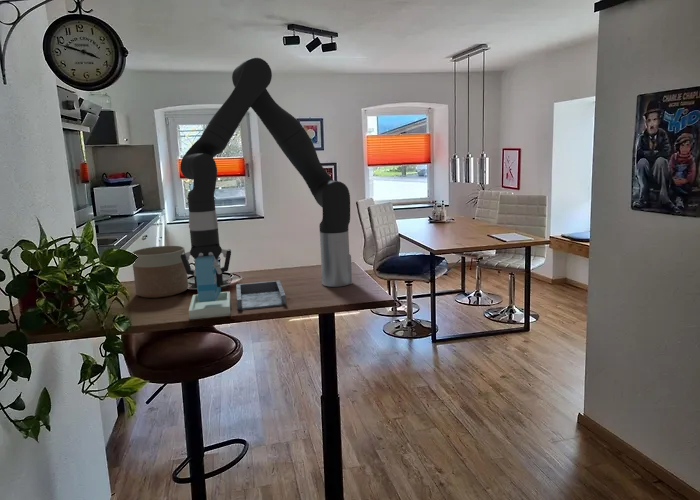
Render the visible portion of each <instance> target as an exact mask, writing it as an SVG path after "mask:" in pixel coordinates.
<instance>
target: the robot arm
mask: <svg viewBox="0 0 700 500" xmlns="http://www.w3.org/2000/svg"><path fill="white" fill-rule="evenodd" d="M272 77H273V75H272V68H271V66H270V65H269V63H268V62H267V61H266V60H264V59H263V58H260V57H251V58H248V59H246V60H245V61H242V62H241V63H240V64H238V66H237V67H235V69H234V70H233V72H232V75H231V80H232V84H233V86H234V88H233V90H232V92H231V93H230V95H229V96H228V98H227V99H226V100H225V101H224V103H223V104H222V105H221V106H220V107H219V109H218V110H217V111H216V113H215V114H214V115H213V116H212V118H211V119H210V120H209V122H208V124H207V126H206V127H205V128H204V130H203V132H202V134H201V136H199V138H198V139H197V140H196V141H195V142H194V143H193V144H192V146H191V147H190V148H189V149H188V150H187V151H186V152H185V154H184V155H183V156H182V159H181V161H180V165H179V169H180V172H181V174H182V176H183V177H185V178H186V179H187V180H191V181H192V180H193V185H192V189H191V190H189V191H188V193H187V204H188V205H187V207H188V228H189V235H190V236H189V237H190V245H191V247H190V250H189V251H186V252H185V253H182V254H181V259H182V262H183V265H184V267H185V270H186V272H187V276H188V275H189V276H193V278H194V287H195V288H197V281H196V270H195V269H192V267H191V264H190V262H189V261H190V258H191V257H192V258H193V259H194V261H195V260H196V258H197V257H203V256H214V260H215V268H216V271H217V281H218V287H221V288H222V286H223V284H224V280H223V278H224V277H223V274H224V273H226V272H228V271H229V267H230V262H231V256H232V250H231V249H230V248H228V249H224V248H222V247H221V245H220V236H219V235H220V233H219V223H218V216H217V211H216V201H215V191H216V186H217V179H218V178H217V177H218V167H217V163H216V160H215V158H214V157H216V156H217V155H219V154H222V153H223V152H224V150H225V149H226V147H227V146H228V144H229V143H230V141H231V140H232V137H233V135H234V134H235V132H236V130H237V129H238V127H239V126H240V124H241V122H242V120H243V119H244V117H245V116H246V114H247V112H248V111H249V109H250V108H251V109H252V110H253V111H254V113H256V116H258V118H259V119H260V121H261V122H262V124H263V125H264V126H265V128H266V130H267V131H268V132H269V134H270V135H271V136H272V138H273V139H274V141H275V142H276V145H277V146H278V147H279V148H280V150H281V151H282V152H283V154H284V155H285V157H286V158H287V160H289V162H290V163H291V165H292V166H293V167H294V168H295V169H296V171H297V172H298V174H300V176H301V177H302V179H303V181H304V182H305V184H306V185H307V187H308V189H309V191H310V193H311V194H312V196H313V198H314V200H315V202H316V203H317V205H319V206H320V208H322V209H321V210H322V218H321V221H320V223H319V226H318V227H319V242H320V245H319V246H320V262H321V263H320V265H321V280H322V281H321V283H322V284H321V285H323V286H325V287H330V288H331V287H332V288H333V287H334V288H337V287H344V286H349V285H353V270H352V255H351V253H350V238H349V237H350V236H349V233H350V232H349V224H350V221H351V195H350V190H349V188H348V186H347V185H346V184H345V183H344V182H341V181H339V180H334V179H333V178H332V177H331V176H330V175H329V173H328V172H327V170H325V168H324V166H323V165H322V163H321V161H320V160H319V157H318V154H317V151H316V148H315V146H314V142H313V140H312V139H311V137H310V135H309V134H308V132H307V131H306V130H305V128H304V127H303V124H301V122H300V121H299V120H298V119H297V118H296V117H295V116H293V115H292V114H291V113H290V112H288V111H287V110H285V108H283V107H281V106H280V105H279V104H278V103H277V102H276V101H275V100H274V98H273V97H272V95H271V94H270V92H269V91H268V89H267V88H268V87H269V86H270V83H271V82H272V79H273V78H272ZM221 254H222V255H223V258H225V261H224V265H223V266H222V267H221V264H220V262H218V261H219V257H220V255H221ZM190 256H191V257H190ZM217 258H218V260H217Z"/></svg>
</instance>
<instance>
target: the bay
mask: <svg viewBox="0 0 700 500" xmlns="http://www.w3.org/2000/svg"><path fill="white" fill-rule="evenodd" d="M235 287H236V288H235V289H236V306H237V311H243V310H255V309H264V308H275V307H284V306H287V298H286V293H285V290H284V288H283V286H282V283H281V280H279V279H278V280H268V281H256V282H246V283H245V282H244V283H237V284H236V286H235Z"/></svg>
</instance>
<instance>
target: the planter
mask: <svg viewBox="0 0 700 500" xmlns="http://www.w3.org/2000/svg"><path fill="white" fill-rule="evenodd" d="M131 253H134V254H136V255H137V256H138V259H137V260H136V261H135V263H134V264H133V263H132V270H133V271H132V272H133V277H134V278H133V279H134V288H135V294H136V295H137V296H139V297H142V298H146V299H147V298H148V299H149V298H150V299H159V298H166V297H167V298H168V297H172V296H176V295H179V294H181V293H184V292H185V291H187V289H188V288H189V280H188V274H187V272H186V270H185V267H184V265H183V262H182V259H181V254H182V253H186V249H185V247H184V246H181V245H159V246H150V247H144V248H143V247H142V248H140V249H136V250H134V251H132V252H131Z"/></svg>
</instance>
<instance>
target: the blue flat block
mask: <svg viewBox="0 0 700 500" xmlns="http://www.w3.org/2000/svg"><path fill="white" fill-rule="evenodd" d="M217 260H218V262H219V257H218V258H217ZM219 263H220V262H219ZM194 267H195V268H194V270H196V281H197V287H196V288H197V289H196V290H197V294H198V300H199V302H209V301H216V300H217V298H218V296H219V294H220V292H222V291H221V290H222V286H221V287H218V281H217V271H216V268H215V260H214V256H203V257H197V258H196V260H195V259H194Z"/></svg>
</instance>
